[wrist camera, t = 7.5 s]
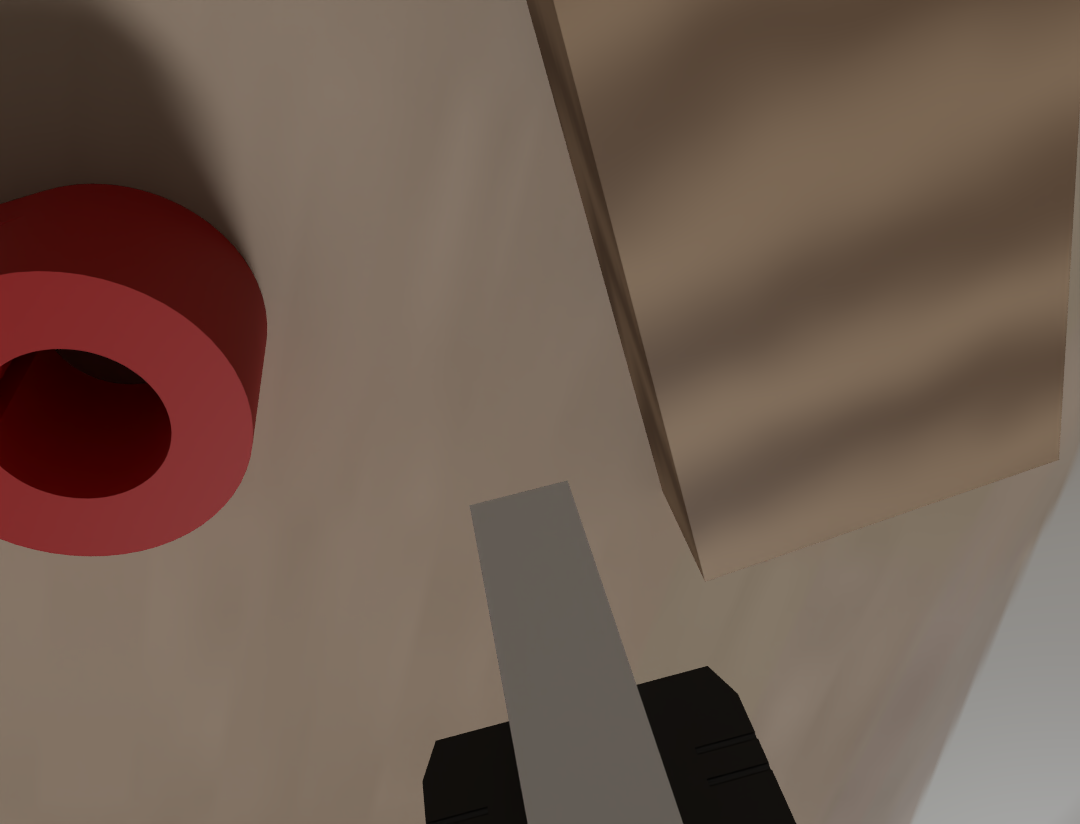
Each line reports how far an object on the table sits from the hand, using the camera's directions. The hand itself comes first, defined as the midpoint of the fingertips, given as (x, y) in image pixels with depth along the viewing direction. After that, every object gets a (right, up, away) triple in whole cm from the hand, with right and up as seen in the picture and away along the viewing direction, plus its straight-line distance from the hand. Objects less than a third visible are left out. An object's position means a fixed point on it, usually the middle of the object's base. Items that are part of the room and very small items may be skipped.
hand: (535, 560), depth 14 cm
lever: (-18, +5, +16) cm, 25 cm away
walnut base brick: (+9, +10, +19) cm, 23 cm away
